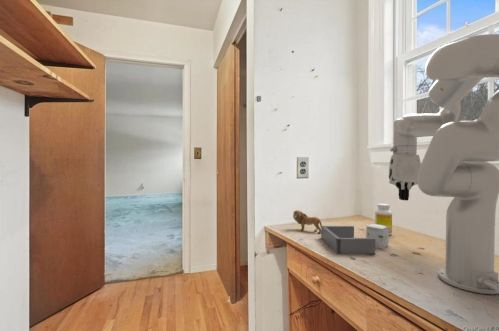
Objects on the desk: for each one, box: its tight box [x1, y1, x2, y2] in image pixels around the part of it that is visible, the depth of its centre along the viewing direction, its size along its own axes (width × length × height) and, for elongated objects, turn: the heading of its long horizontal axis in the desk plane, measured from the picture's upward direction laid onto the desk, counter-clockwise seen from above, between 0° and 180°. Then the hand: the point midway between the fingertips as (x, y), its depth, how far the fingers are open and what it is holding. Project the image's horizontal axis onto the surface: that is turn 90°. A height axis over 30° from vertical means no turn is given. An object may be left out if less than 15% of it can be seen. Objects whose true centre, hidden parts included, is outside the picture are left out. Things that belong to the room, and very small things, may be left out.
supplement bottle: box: [374, 203, 393, 236], centre depth 112 cm, size 7×7×13 cm
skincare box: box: [365, 223, 390, 250], centre depth 95 cm, size 6×6×7 cm
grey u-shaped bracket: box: [320, 225, 376, 255], centre depth 95 cm, size 18×13×5 cm
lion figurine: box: [292, 210, 323, 235], centre depth 115 cm, size 15×5×9 cm, turn 67°
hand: (403, 199), depth 96 cm, fingers closed
